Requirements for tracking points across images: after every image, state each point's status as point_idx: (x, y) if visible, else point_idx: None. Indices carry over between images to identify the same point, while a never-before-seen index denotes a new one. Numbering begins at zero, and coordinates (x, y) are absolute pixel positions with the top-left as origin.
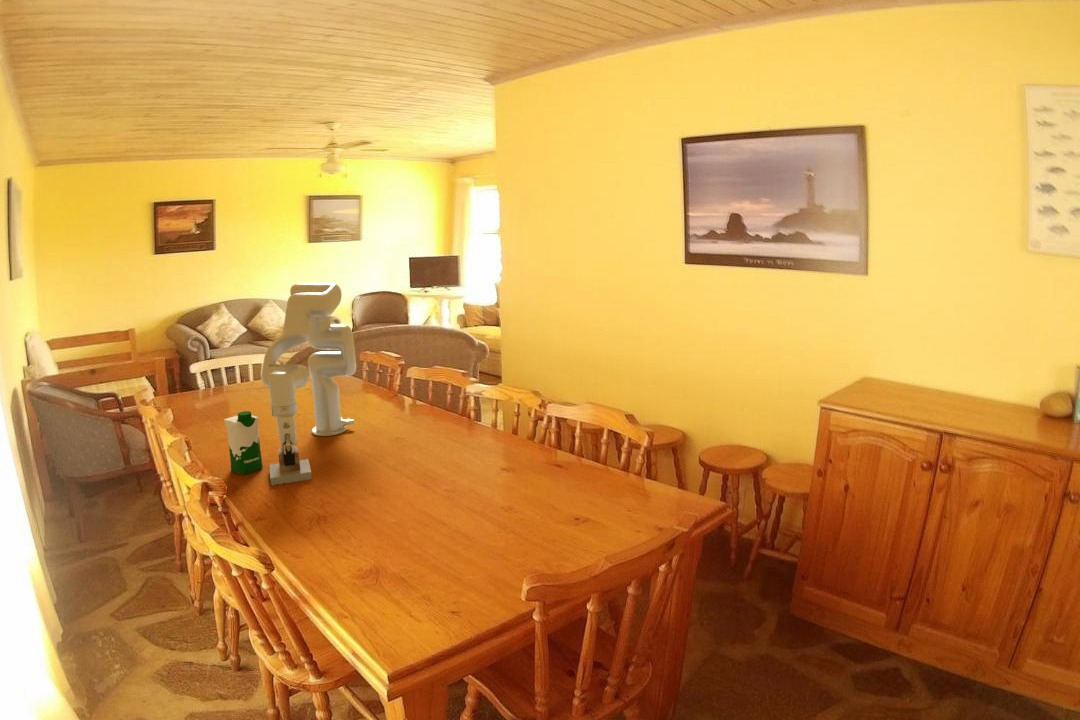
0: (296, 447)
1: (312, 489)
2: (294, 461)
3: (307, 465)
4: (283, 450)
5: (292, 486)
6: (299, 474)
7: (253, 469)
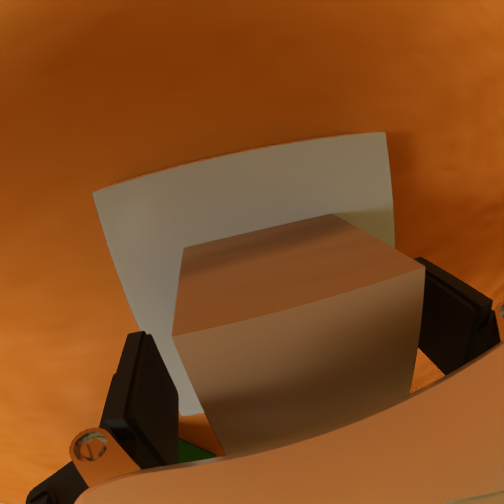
0: (223, 341)
1: (463, 132)
2: (435, 270)
3: (246, 169)
4: (296, 433)
5: (415, 231)
6: (390, 209)
7: (180, 446)
